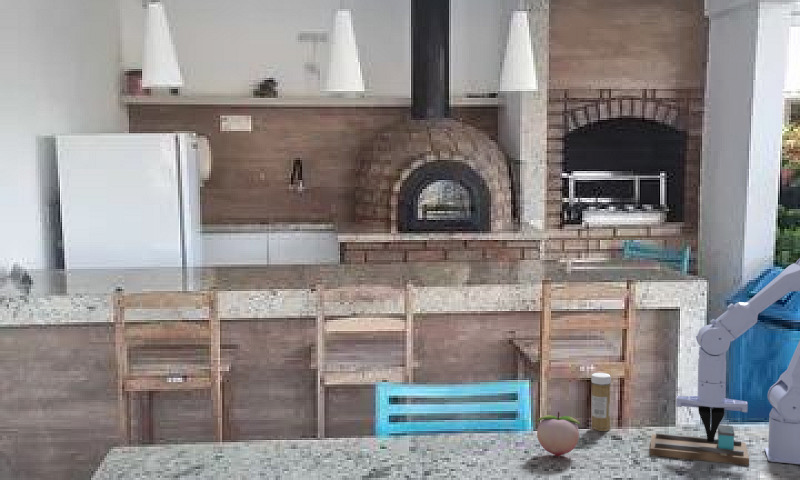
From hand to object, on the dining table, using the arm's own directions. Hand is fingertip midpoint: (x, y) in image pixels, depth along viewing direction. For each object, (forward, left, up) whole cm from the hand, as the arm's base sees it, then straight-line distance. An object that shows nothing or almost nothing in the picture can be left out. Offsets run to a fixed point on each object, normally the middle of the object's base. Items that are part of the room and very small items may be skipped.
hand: (710, 440), depth 175 cm
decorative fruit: (+31, +12, -3) cm, 34 cm away
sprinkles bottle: (+24, -10, -3) cm, 27 cm away
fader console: (+2, 0, -3) cm, 4 cm away
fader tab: (-3, 0, -1) cm, 3 cm away
